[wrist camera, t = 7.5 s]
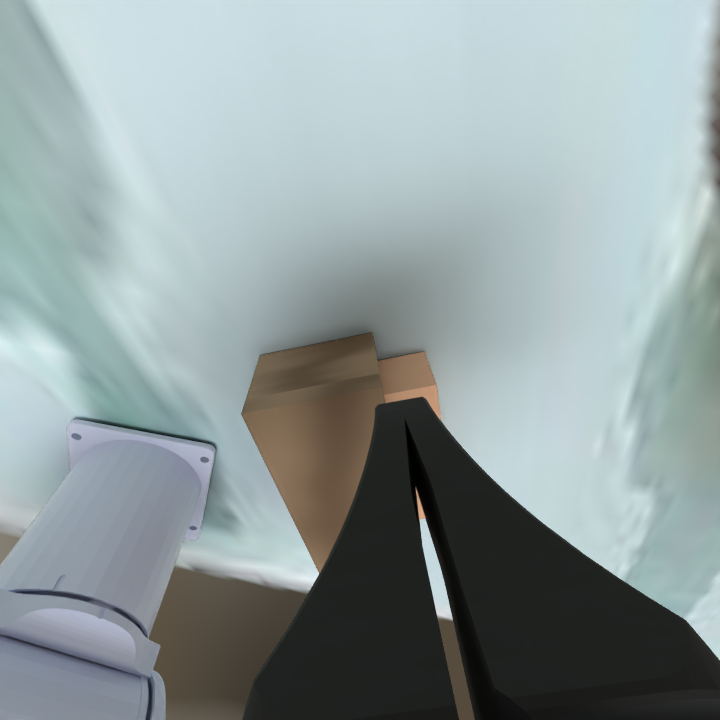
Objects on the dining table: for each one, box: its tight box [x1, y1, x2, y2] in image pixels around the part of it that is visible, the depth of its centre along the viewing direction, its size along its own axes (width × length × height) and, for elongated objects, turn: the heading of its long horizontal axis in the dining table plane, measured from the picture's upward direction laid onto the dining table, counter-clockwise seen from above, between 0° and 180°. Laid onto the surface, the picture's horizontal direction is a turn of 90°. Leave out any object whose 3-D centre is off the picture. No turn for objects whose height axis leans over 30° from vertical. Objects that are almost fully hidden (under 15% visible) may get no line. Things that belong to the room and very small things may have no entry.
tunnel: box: [241, 333, 385, 574], centre depth 22 cm, size 6×14×5 cm, turn 11°
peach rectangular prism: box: [378, 352, 441, 519], centre depth 22 cm, size 7×10×3 cm
